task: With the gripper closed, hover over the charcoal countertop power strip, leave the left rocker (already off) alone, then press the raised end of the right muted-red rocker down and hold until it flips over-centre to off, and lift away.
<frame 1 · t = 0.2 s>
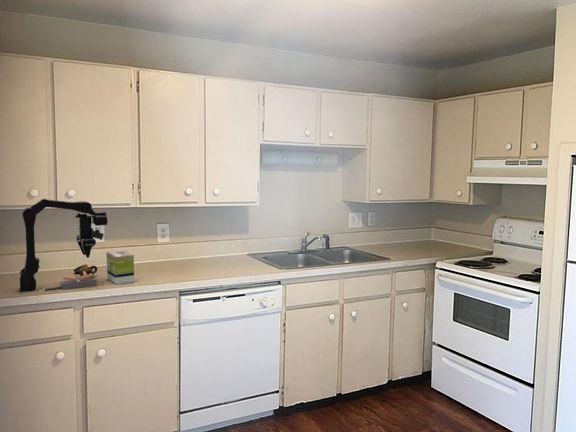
hand: (86, 256, 241), 14 cm above the worktop, fingers open, 9 cm apart
rocker right: (86, 276, 237), point 5 cm above the worktop, hinge at -12.0°
power strip: (78, 286, 235), on the worktop
tea box: (120, 281, 249), on the worktop
rocker left: (69, 278, 233), point 5 cm above the worktop, hinge at 12.0°
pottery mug: (86, 278, 255), on the worktop
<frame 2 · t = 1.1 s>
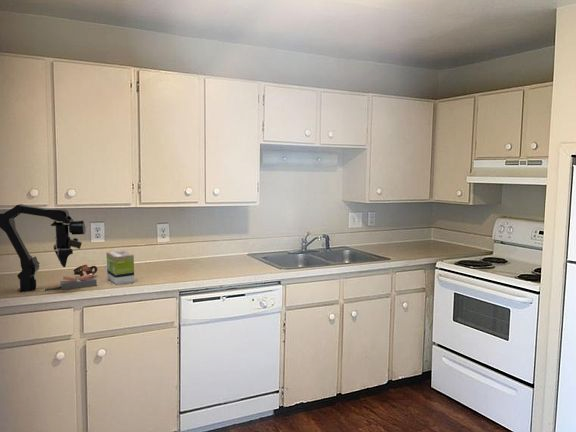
hand: (63, 266, 231), 11 cm above the worktop, fingers open, 4 cm apart
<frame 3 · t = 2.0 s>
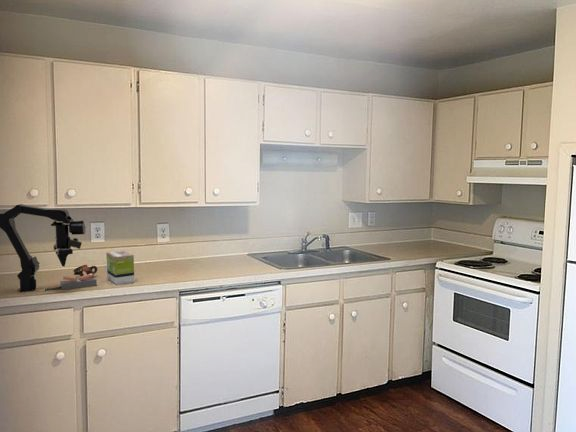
hand: (63, 266, 231), 11 cm above the worktop, fingers closed
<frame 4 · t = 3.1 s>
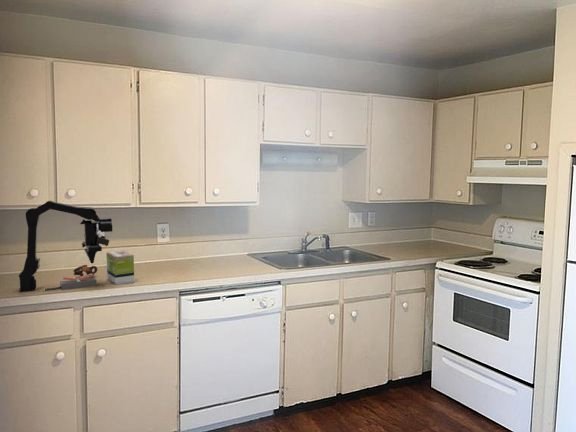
hand: (92, 263, 238), 11 cm above the worktop, fingers closed
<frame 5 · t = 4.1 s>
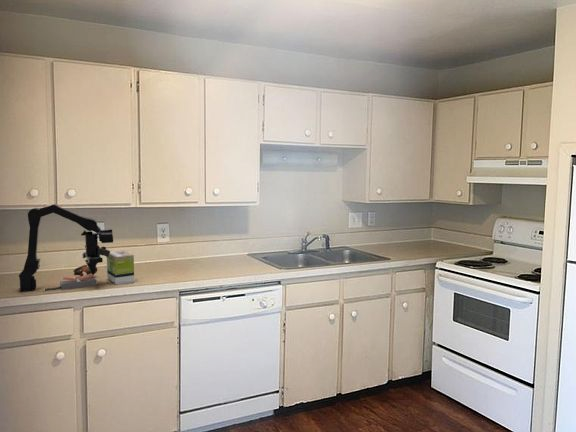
hand: (92, 274, 239), 6 cm above the worktop, fingers closed, pressing on rocker right
rocker right: (86, 276, 237), point 5 cm above the worktop, hinge at -11.7°, touching gripper
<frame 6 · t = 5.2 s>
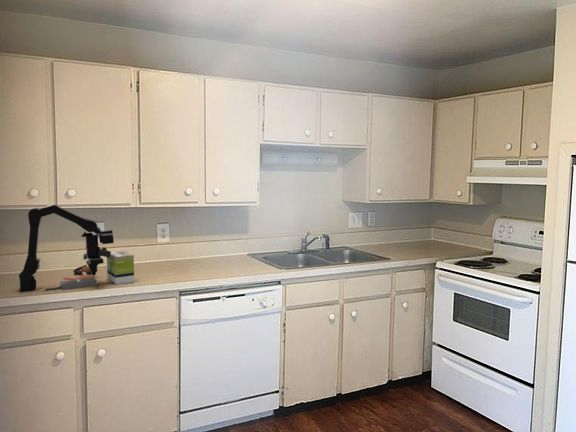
hand: (94, 275, 239), 5 cm above the worktop, fingers closed, pressing on rocker right
rocker right: (86, 276, 237), point 5 cm above the worktop, hinge at 2.1°, touching gripper
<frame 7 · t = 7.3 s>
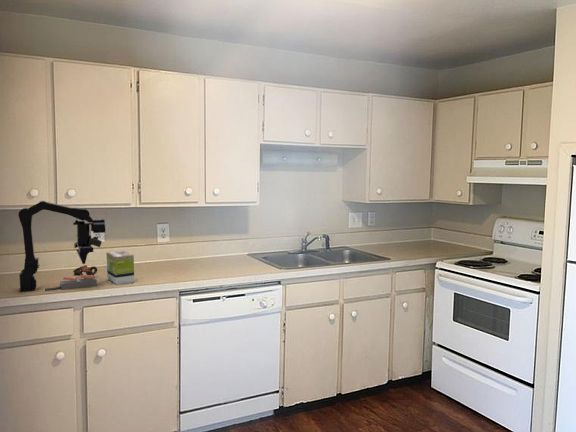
hand: (83, 263, 238), 11 cm above the worktop, fingers closed
rocker right: (86, 276, 237), point 5 cm above the worktop, hinge at 7.5°
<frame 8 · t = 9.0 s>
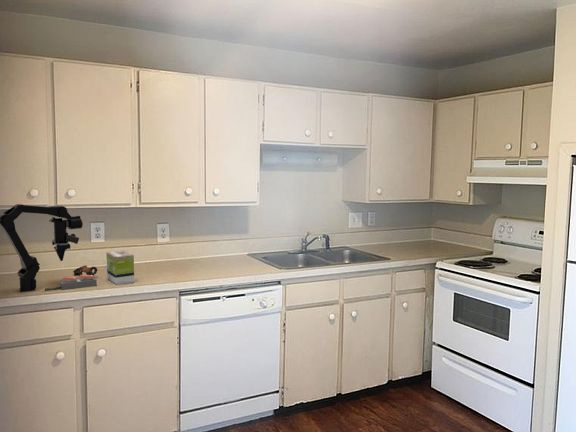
hand: (61, 260, 239), 12 cm above the worktop, fingers closed
rocker right: (86, 276, 237), point 5 cm above the worktop, hinge at 8.2°
at the end: rocker right at +8° (first picture: -12°); rocker left at +12° (first picture: +12°) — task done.
